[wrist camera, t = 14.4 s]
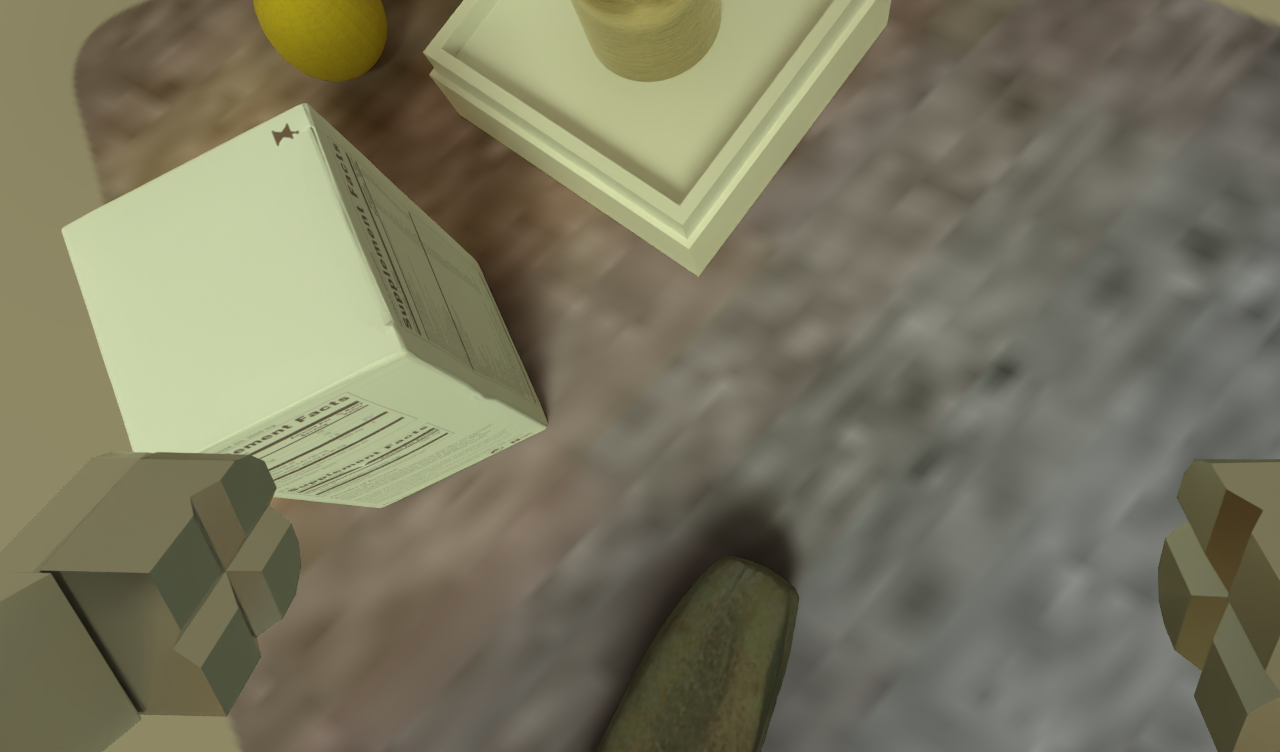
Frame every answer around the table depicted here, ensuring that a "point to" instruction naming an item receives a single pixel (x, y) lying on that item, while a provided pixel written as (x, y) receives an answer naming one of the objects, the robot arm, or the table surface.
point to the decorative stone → (711, 666)
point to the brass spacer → (649, 34)
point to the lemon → (325, 34)
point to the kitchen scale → (655, 107)
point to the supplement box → (300, 320)
